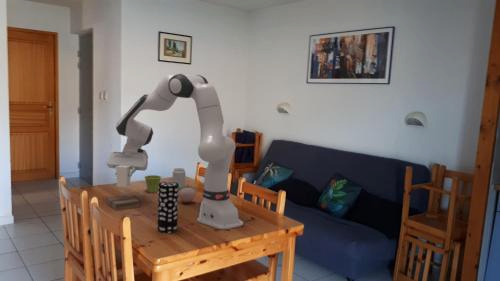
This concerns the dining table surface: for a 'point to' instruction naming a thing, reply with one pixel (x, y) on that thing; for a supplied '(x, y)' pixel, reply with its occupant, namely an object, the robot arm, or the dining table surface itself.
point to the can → (179, 176)
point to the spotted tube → (167, 207)
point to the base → (123, 202)
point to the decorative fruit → (187, 193)
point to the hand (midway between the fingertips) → (123, 175)
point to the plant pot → (152, 183)
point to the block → (123, 176)
